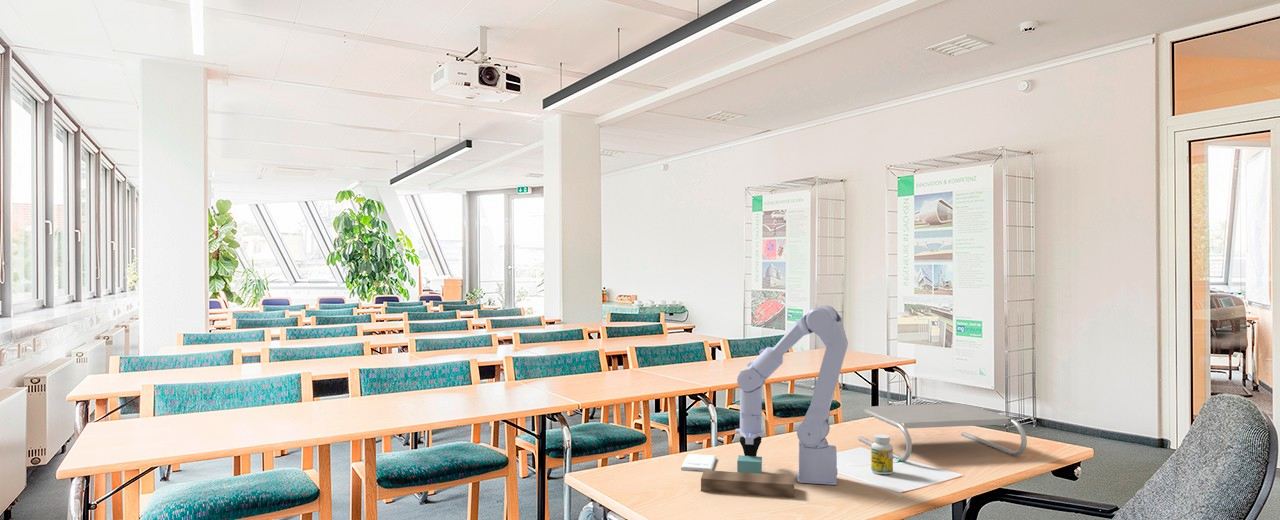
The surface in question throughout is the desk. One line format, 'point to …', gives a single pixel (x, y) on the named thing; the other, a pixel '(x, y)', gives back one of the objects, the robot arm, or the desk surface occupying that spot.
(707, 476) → the walnut board
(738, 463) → the teal block
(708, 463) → the external hard drive
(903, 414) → the monitor stand
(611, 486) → the desk surface
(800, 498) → the desk surface
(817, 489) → the desk surface
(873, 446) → the supplement bottle
